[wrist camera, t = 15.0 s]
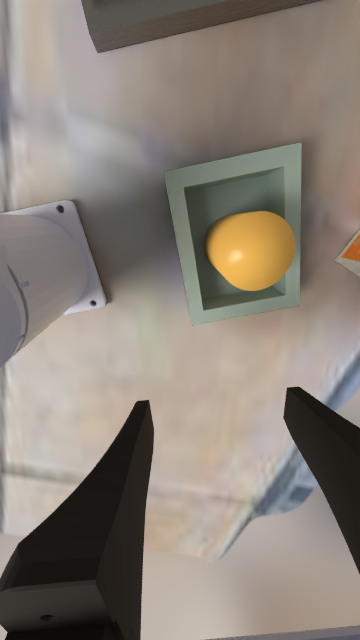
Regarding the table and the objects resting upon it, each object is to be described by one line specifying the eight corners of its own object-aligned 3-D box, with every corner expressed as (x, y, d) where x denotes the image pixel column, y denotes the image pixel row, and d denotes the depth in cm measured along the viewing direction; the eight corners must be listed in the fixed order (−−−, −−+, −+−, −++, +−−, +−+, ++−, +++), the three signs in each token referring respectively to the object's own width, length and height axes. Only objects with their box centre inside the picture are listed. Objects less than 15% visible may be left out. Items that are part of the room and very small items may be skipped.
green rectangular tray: (189, 311, 20) (192, 325, 17) (164, 179, 16) (163, 171, 14) (282, 294, 20) (299, 305, 17) (279, 155, 16) (301, 142, 13)
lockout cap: (207, 274, 19) (223, 296, 13) (199, 220, 17) (213, 220, 12) (257, 264, 18) (295, 283, 13) (254, 209, 17) (295, 203, 11)
